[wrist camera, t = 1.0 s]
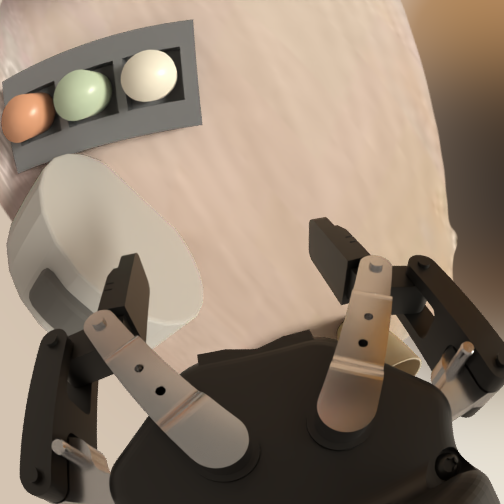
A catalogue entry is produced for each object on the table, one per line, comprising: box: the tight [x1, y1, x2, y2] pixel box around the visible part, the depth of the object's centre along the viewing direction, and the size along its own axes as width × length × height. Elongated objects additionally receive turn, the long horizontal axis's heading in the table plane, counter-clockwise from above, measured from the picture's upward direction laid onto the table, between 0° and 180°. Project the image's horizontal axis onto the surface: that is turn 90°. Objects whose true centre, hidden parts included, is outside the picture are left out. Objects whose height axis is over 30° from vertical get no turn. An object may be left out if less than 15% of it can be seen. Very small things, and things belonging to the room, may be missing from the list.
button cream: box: [121, 50, 177, 102], centre depth 22 cm, size 5×5×4 cm
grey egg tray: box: [2, 20, 202, 173], centre depth 23 cm, size 12×23×3 cm, turn 94°
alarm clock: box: [7, 154, 203, 349], centre depth 25 cm, size 21×8×20 cm, turn 38°
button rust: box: [1, 92, 56, 143], centre depth 20 cm, size 5×5×4 cm
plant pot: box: [337, 322, 422, 376], centre depth 49 cm, size 15×15×16 cm
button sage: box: [53, 70, 112, 121], centre depth 21 cm, size 5×5×4 cm
